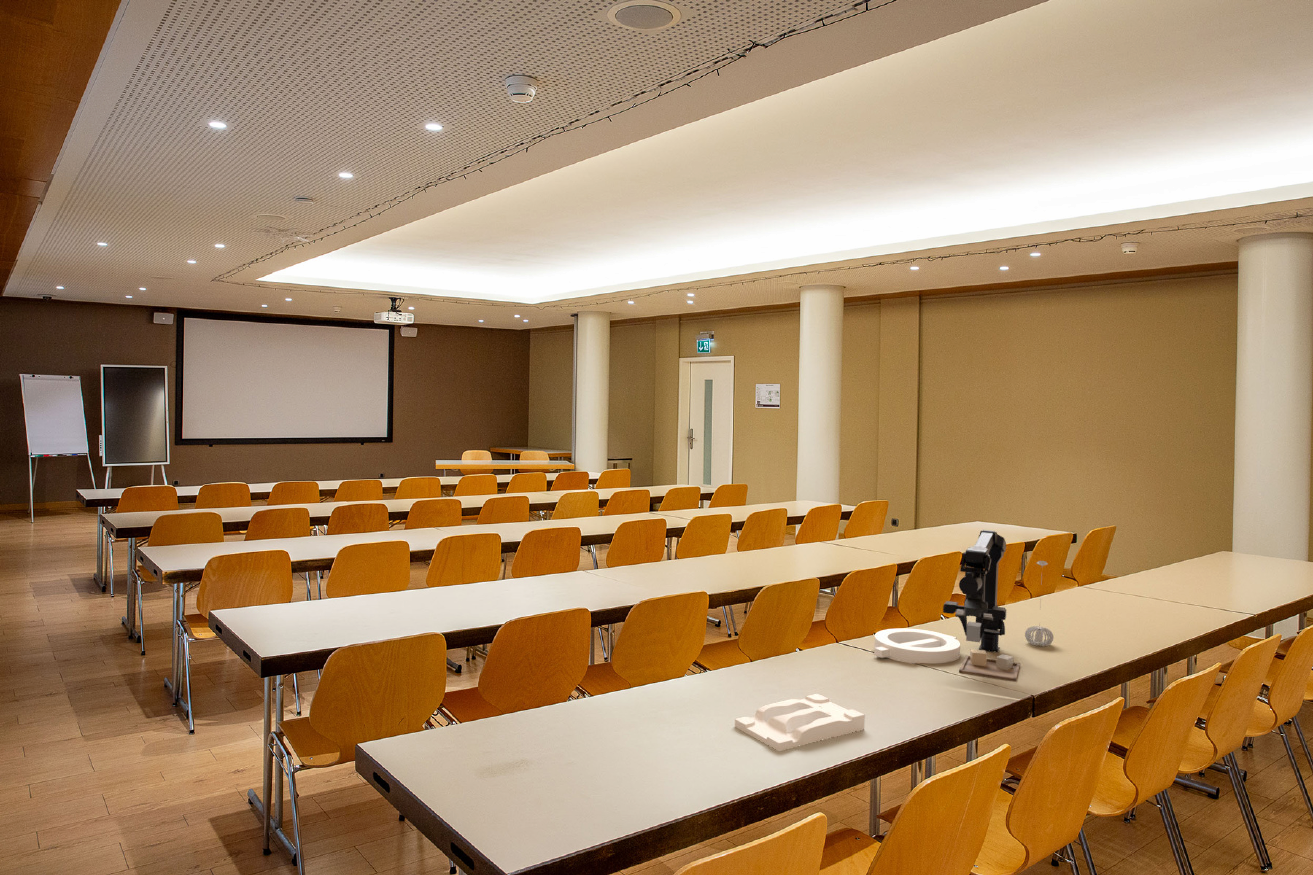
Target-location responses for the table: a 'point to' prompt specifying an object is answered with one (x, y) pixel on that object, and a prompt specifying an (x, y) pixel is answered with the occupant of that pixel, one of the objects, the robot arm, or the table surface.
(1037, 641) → the pendant light
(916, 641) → the ring with crossbar
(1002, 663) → the beige cube
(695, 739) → the table surface
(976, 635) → the grey cube block
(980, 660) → the tan cube
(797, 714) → the mold
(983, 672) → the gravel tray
